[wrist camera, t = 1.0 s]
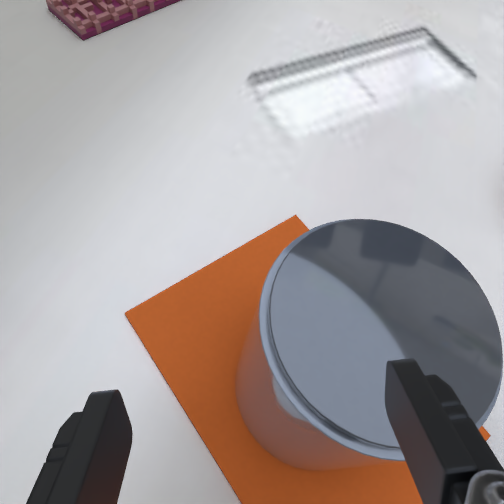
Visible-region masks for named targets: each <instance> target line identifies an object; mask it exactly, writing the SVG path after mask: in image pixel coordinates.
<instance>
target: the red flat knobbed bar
mask: <svg viewBox="0 0 504 504" xmlns="http://www.w3.org/2000/svg"><path fill="white" fill-rule="evenodd" d="M178 1H180V0H46V2H47V5H48V9H49V10H50V11H51V12H52V13H53V14H54V15H55V16H56V17H58V18H59V19H60V20H61V21H62V22H63V23H64V24H65V25H67V26H68V27H69V28H70V29H71V30H72V31H73V32H74V33H76V34H77V35H78V36H79V37H80V38H81V39H82V40H85V39H87V38H90V37H92V36H95V35H97V34H100V33H102V32H105V31H107V30H109V29H112V28H114V27H117V26H119V25H122V24H124V23H127V22H129V21H131V20H134V19H136V18H139V17H141V16H144V15H146V14H149V13H151V12H153V11H156V10H158V9H161V8H163V7H166V6H168V5H171V4H173V3H175V2H178Z"/></svg>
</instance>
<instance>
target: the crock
mask: <svg viewBox="0 0 504 504" xmlns="http://www.w3.org/2000/svg"><path fill="white" fill-rule="evenodd" d="M502 355H503V354H502V343H501V337H500V332H499V328H498V324H497V321H496V318H495V315H494V312H493V310H492V308H491V306H490V303H489V301H488V299H487V297H486V295H485V294H484V292H483V291H482V289H481V287H480V286H479V284H478V283H477V281H476V280H475V279H474V277H473V276H472V275H471V273H470V272H469V271H468V270H467V269H466V268H465V267H464V266H463V265H462V264H461V262H460V261H459V260H457V259H456V258H455V257H454V256H453V255H452V254H451V253H450V252H448V251H447V250H446V249H444V248H443V247H442V246H440V245H439V244H438V243H436V242H434V241H433V240H431V239H429V238H428V237H426V236H424V235H422V234H420V233H418V232H416V231H414V230H412V229H409V228H406V227H404V226H401V225H398V224H394V223H390V222H386V221H379V220H370V219H349V220H339V221H335V222H330V223H326V224H323V225H320V226H318V227H315V228H313V229H311V230H309V231H307V232H305V233H303V234H302V235H300V236H299V237H298V238H296V239H295V240H293V241H292V242H291V243H290V244H289V245H288V246H287V247H286V248H285V249H284V250H283V251H282V252H281V253H280V255H279V256H278V257H277V258H276V260H275V261H274V263H273V265H272V267H271V268H270V270H269V272H268V274H267V277H266V279H265V282H264V285H263V287H262V290H261V293H260V296H259V299H258V302H257V305H256V308H255V311H254V314H253V317H252V320H251V323H250V326H249V329H248V332H247V335H246V338H245V341H244V344H243V347H242V350H241V353H240V356H239V359H238V363H237V368H236V375H235V393H236V399H237V404H238V407H239V411H240V414H241V416H242V418H243V421H244V423H245V425H246V426H247V428H248V430H249V432H250V433H251V435H252V436H253V437H254V438H255V440H256V441H257V442H258V443H259V444H260V445H261V446H262V447H263V448H264V449H265V450H266V451H267V452H268V453H270V454H271V455H272V456H273V457H275V458H277V459H278V460H280V461H282V462H283V463H285V464H288V465H290V466H293V467H295V468H299V469H303V470H310V471H329V470H338V469H347V468H356V467H365V466H373V465H382V464H391V463H400V462H406V460H405V458H404V456H403V453H402V451H401V448H400V446H399V443H398V441H397V439H396V436H395V434H394V431H393V429H392V426H391V424H390V422H389V419H388V416H387V412H386V407H385V380H386V364H387V361H391V360H400V359H410V358H414V359H415V360H416V361H417V363H418V365H419V366H420V368H421V370H422V372H423V373H424V375H434V374H436V375H437V376H438V377H440V378H441V379H442V380H443V381H445V382H446V383H447V384H448V385H450V386H451V387H452V389H453V390H454V392H455V393H456V395H457V397H458V398H459V400H460V401H461V405H463V406H464V408H465V409H466V411H467V412H468V414H469V417H470V418H471V419H472V420H473V422H474V423H475V425H476V427H477V428H478V430H479V429H480V427H481V426H482V425H483V424H484V422H485V421H486V420H487V418H488V416H489V414H490V412H491V411H492V409H493V407H494V405H495V402H496V399H497V396H498V394H499V390H500V385H501V380H502V368H503V357H502Z"/></svg>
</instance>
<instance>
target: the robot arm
mask: <svg viewBox="0 0 504 504" xmlns="http://www.w3.org/2000/svg"><path fill="white" fill-rule="evenodd" d="M385 407H386V412H387V416H388V419H389V422H390V424H391V426H392V429H393V431H394V434H395V436H396V439H397V441H398V443H399V446H400V448H401V451H402V453H403V456H404V458H405V460H406V463H407V465H408V468H409V470H410V473H411V475H412V477H413V480H414V482H415V485H416V487H417V490H418V492H419V494H420V497H421V499H422V502H423V504H504V469H503V467H502V466H501V464H500V463H499V461H498V460H497V458H496V457H495V455H494V453H493V452H492V450H491V449H490V447H489V446H488V444H487V442H486V441H485V439H484V438H483V436H482V434H481V433H480V431H479V430H478V428H477V427H476V425H475V423H474V422H473V420H472V419H471V418H470V417H469V414H468V412H467V411H466V409H465V408H464V406H463V405H461V401H460V400H459V398H458V397H457V395H456V393H455V392H454V390H453V389H452V387H451V386H450V385H448V384H447V383H446V382H445V381H443V380H442V379H441V378H440V377H438V376H437V375H436V374H434V375H424V373H423V372H422V370H421V368H420V366H419V365H418V363H417V361H416V360H415V359H414V358H410V359H400V360H391V361H387V364H386V380H385ZM131 445H132V427H131V423H130V420H129V417H128V414H127V411H126V408H125V405H124V402H123V399H122V396H121V393H120V392H119V390H108V391H99V392H92V393H91V394H90V395H89V397H88V399H87V402H86V404H85V407H84V409H83V412H75V413H73V414H72V415H71V416H70V417H69V418H68V420H67V421H66V422H65V423H64V424H63V425H62V426H61V428H60V429H59V431H58V434H57V436H56V438H55V440H54V443H53V445H52V446H53V447H52V448H51V449H50V451H49V454H48V456H47V458H46V463H44V465H43V467H42V469H41V471H40V474H39V476H38V478H37V480H36V483H35V485H34V487H33V489H32V492H31V494H30V496H29V498H28V500H27V503H26V504H117V501H118V497H119V493H120V489H121V485H122V481H123V477H124V473H125V469H126V466H127V462H128V458H129V454H130V450H131Z"/></svg>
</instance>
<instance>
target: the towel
mask: <svg viewBox="0 0 504 504" xmlns="http://www.w3.org/2000/svg"><path fill="white" fill-rule="evenodd" d="M307 231H309V229H308V228H307V227H306V226H305V225H304V223H303V222H302V221H301V220H300V219H299V218H298V217H297V216H296V215H295V216H293V217H291V218H289V219H288V220H286V221H284V222H282V223H281V224H279V225H277V226H275V227H274V228H272V229H270V230H268V231H267V232H265V233H263V234H262V235H260V236H258V237H256V238H255V239H253V240H251V241H249V242H248V243H246V244H244V245H242V246H241V247H239V248H237V249H235V250H234V251H232V252H230V253H228V254H227V255H225V256H223V257H221V258H220V259H218V260H216V261H214V262H213V263H211V264H209V265H207V266H206V267H204V268H202V269H201V270H199V271H197V272H195V273H194V274H192V275H190V276H188V277H187V278H185V279H183V280H181V281H180V282H178V283H176V284H174V285H173V286H171V287H169V288H167V289H166V290H164V291H162V292H160V293H159V294H157V295H155V296H153V297H152V298H150V299H148V300H146V301H145V302H143V303H141V304H140V305H138V306H136V307H134V308H133V309H131V310H129V311H127V312H126V313H125V315H126V317H127V318H128V320H129V321H130V323H131V325H132V326H133V328H134V330H135V331H136V333H137V334H138V336H139V338H140V339H141V341H142V343H143V344H144V346H145V347H146V349H147V351H148V352H149V354H150V355H151V357H152V359H153V360H154V362H155V364H156V365H157V367H158V368H159V370H160V372H161V373H162V375H163V377H164V378H165V380H166V381H167V383H168V385H169V386H170V388H171V390H172V391H173V393H174V394H175V396H176V398H177V399H178V401H179V402H180V404H181V406H182V407H183V409H184V411H185V412H186V414H187V415H188V417H189V419H190V420H191V422H192V424H193V425H194V427H195V428H196V430H197V432H198V433H199V435H200V436H201V438H202V440H203V441H204V443H205V445H206V446H207V448H208V449H209V451H210V453H211V454H212V456H213V458H214V459H215V461H216V462H217V464H218V466H219V467H220V469H221V471H222V472H223V474H224V475H225V477H226V479H227V480H228V482H229V483H230V485H231V487H232V488H233V490H234V492H235V493H236V495H237V496H238V498H239V500H240V501H241V503H242V504H423V502H422V499H421V497H420V494H419V492H418V490H417V487H416V485H415V482H414V480H413V477H412V475H411V473H410V470H409V468H408V465H407V463H406V462H400V463H391V464H382V465H373V466H365V467H356V468H347V469H338V470H329V471H310V470H303V469H299V468H295V467H293V466H290V465H288V464H285V463H283V462H282V461H280V460H278V459H277V458H275V457H273V456H272V455H271V454H270V453H268V452H267V451H266V450H265V449H264V448H263V447H262V446H261V445H260V444H259V443H258V442H257V441H256V440H255V438H254V437H253V436H252V435H251V433H250V432H249V430H248V428H247V426H246V425H245V423H244V421H243V418H242V416H241V414H240V411H239V407H238V404H237V399H236V393H235V375H236V368H237V363H238V359H239V356H240V353H241V350H242V347H243V344H244V341H245V338H246V335H247V332H248V329H249V326H250V323H251V320H252V317H253V314H254V311H255V308H256V305H257V302H258V299H259V296H260V293H261V290H262V287H263V285H264V282H265V279H266V277H267V274H268V272H269V270H270V268H271V267H272V265H273V263H274V261H275V260H276V258H277V257H278V256H279V255H280V253H281V252H282V251H283V250H284V249H285V248H286V247H287V246H288V245H289V244H290V243H291V242H292V241H293V240H295V239H296V238H298V237H299V236H300V235H302V234H303V233H305V232H307ZM479 431H480V433H481V434H482V436H483V438H484V439H485V441H486V440H487V439H488V438H489V437H490V436H491V435H490V434H489V433H488V432H487V431H486V430H485V429H484V427H483V426H481V427H480V429H479Z"/></svg>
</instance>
